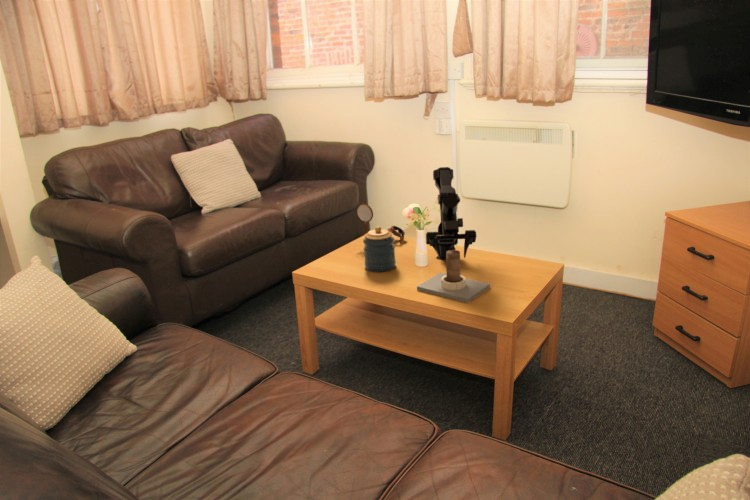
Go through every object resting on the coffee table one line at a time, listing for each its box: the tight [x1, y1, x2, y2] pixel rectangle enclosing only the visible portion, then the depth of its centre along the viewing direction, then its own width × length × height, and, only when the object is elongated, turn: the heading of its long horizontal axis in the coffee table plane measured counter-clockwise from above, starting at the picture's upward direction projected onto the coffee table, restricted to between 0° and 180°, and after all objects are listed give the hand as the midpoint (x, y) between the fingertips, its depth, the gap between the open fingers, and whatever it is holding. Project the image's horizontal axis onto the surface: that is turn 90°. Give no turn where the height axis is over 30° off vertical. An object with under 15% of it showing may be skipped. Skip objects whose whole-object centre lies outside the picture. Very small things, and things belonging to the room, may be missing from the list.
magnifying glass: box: [356, 203, 374, 239], centre depth 269 cm, size 9×2×20 cm, turn 57°
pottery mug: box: [386, 225, 406, 244], centre depth 275 cm, size 12×10×8 cm
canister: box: [362, 225, 397, 273], centre depth 243 cm, size 13×13×18 cm
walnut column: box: [445, 249, 461, 283], centre depth 218 cm, size 5×5×13 cm
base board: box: [416, 272, 491, 304], centre depth 220 cm, size 22×16×4 cm
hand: (452, 257), depth 220 cm, fingers open, 9 cm apart
